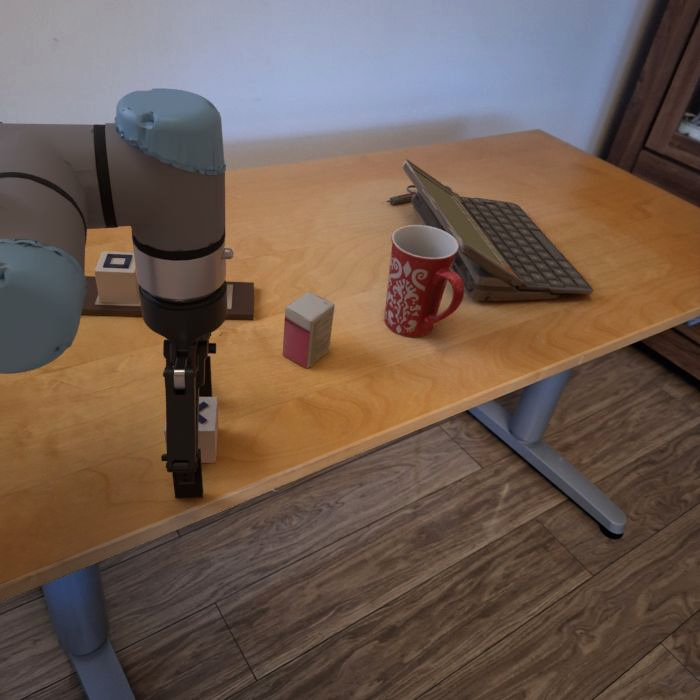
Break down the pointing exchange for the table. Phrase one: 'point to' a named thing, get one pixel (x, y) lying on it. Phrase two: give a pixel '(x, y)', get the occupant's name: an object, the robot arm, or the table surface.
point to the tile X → (207, 429)
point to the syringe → (405, 196)
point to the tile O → (117, 278)
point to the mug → (420, 279)
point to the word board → (237, 302)
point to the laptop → (494, 245)
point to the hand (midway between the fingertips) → (195, 444)
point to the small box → (307, 329)
